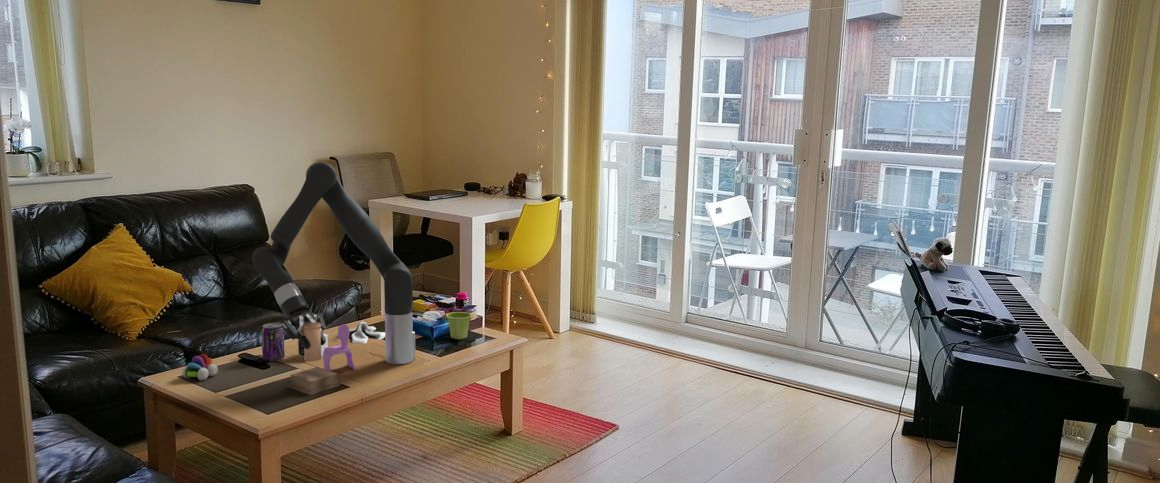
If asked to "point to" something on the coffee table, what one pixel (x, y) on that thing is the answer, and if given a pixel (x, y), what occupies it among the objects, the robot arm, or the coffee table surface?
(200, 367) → the colorful domed toy
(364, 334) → the cloth
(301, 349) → the medicine bottle
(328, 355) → the toy chair
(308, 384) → the base slab
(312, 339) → the canister
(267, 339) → the beverage can
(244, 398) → the coffee table surface
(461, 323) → the plant pot
